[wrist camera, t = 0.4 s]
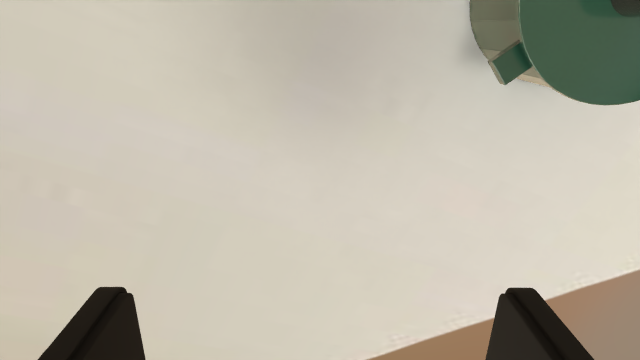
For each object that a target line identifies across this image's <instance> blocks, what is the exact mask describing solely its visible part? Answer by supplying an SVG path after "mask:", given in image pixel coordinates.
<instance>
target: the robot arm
mask: <svg viewBox="0 0 640 360" xmlns="http://www.w3.org/2000/svg"><path fill="white" fill-rule="evenodd" d="M38 360H145V355H144V349H143V344H142V339H141V334H140V328H139V323H138V318H137V313H136V307H135V302H134V297H133V295H132V294H131V293H127V291H126V289H125V288H123V287H99V288H97V289H96V290H95V291H94V293H93V294H92V295H91V296H90V297H89V299H88V300H87V301H86V302H85V303H84V305H83V306H82V307H81V308H80V310H79V311H78V312H77V313H76V314H75V316H74V317H73V318H72V319H71V320H70V322H69V323H68V324H67V325H66V327H65V328H64V329H63V330H62V331H61V333H60V334H59V335H58V336H57V337H56V339H55V340H54V341H53V342H52V344H51V345H50V346H49V347H48V348H47V349H46V350H45V352H44V353H43V354H42V355H41V356H40V358H39V359H38ZM486 360H594V359H593V358H592V356H591V355H590V354H589V353H588V352H587V351H586V350H585V348H584V347H583V346H582V345H581V343H580V342H579V341H578V340H577V339H576V337H575V336H574V335H573V334H572V333H571V332H570V330H569V329H568V328H567V327H566V326H565V325H564V323H563V322H562V321H561V320H560V319H559V318H558V316H557V315H556V314H555V313H554V311H553V310H552V309H551V308H550V307H549V306H548V304H547V303H546V302H545V301H544V300H543V298H542V297H541V296H540V295H539V294H538V292H537V291H536V290H534V289H533V288H508V289H507V290H506V293H505V294H501V295H500V297H499V300H498V305H497V309H496V314H495V319H494V324H493V328H492V332H491V337H490V341H489V346H488V351H487V355H486Z"/></svg>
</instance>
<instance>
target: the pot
mask: <svg viewBox="0 0 640 360" xmlns="http://www.w3.org/2000/svg"><path fill="white" fill-rule="evenodd" d="M470 20H471V26H472V30H473V33H474V37H475V39H476V42H477V44H478V46H479V48H480V49H481V51H482V52H483V54H484V56H485V57H486V58H487V59H488V63H489V65H490V66H491V68H492V70H493V72H494V74H495V75H496V77H497V79H498V81H499V83H500V84H503V85H506V84H508V83H509V82H511V81H512V80H514V79H515V78H518V79H520V80H524V81H528V82H531V83H535V84H539V85H543V86H547V87H549V86H548V85H547V84H546V83H544V82H543V81H542V80H541V79H540V78H539V76H538V75H537V74H536V73H535V72H534V71H533V69H532V67H531V66H530V64H529V62H528V61H527V59H526V57H525V54H524V52H523V50H522V47H521V44H520V41H519V37H518V33H517V26H516V18H515V0H470Z"/></svg>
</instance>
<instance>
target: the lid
mask: <svg viewBox="0 0 640 360" xmlns="http://www.w3.org/2000/svg"><path fill="white" fill-rule="evenodd" d="M515 18H516V26H517V33H518V37H519V41H520V44H521V47H522V50H523V52H524V54H525V57H526V59H527V61H528V62H529V64H530V66H531V67H532V69H533V71H534V72H535V73H536V74H537V75H538V76H539V78H540V79H541V80H542V81H543V82H544V83H546V84H547V85H548V86H549V87H550V88H552V89H553V90H555V91H556V92H558V93H560V94H561V95H563V96H566V97H568V98H571V99H573V100H576V101H580V102H584V103H589V104H596V105H619V104H625V103H631V102H635V101H638V100H640V0H515Z"/></svg>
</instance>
